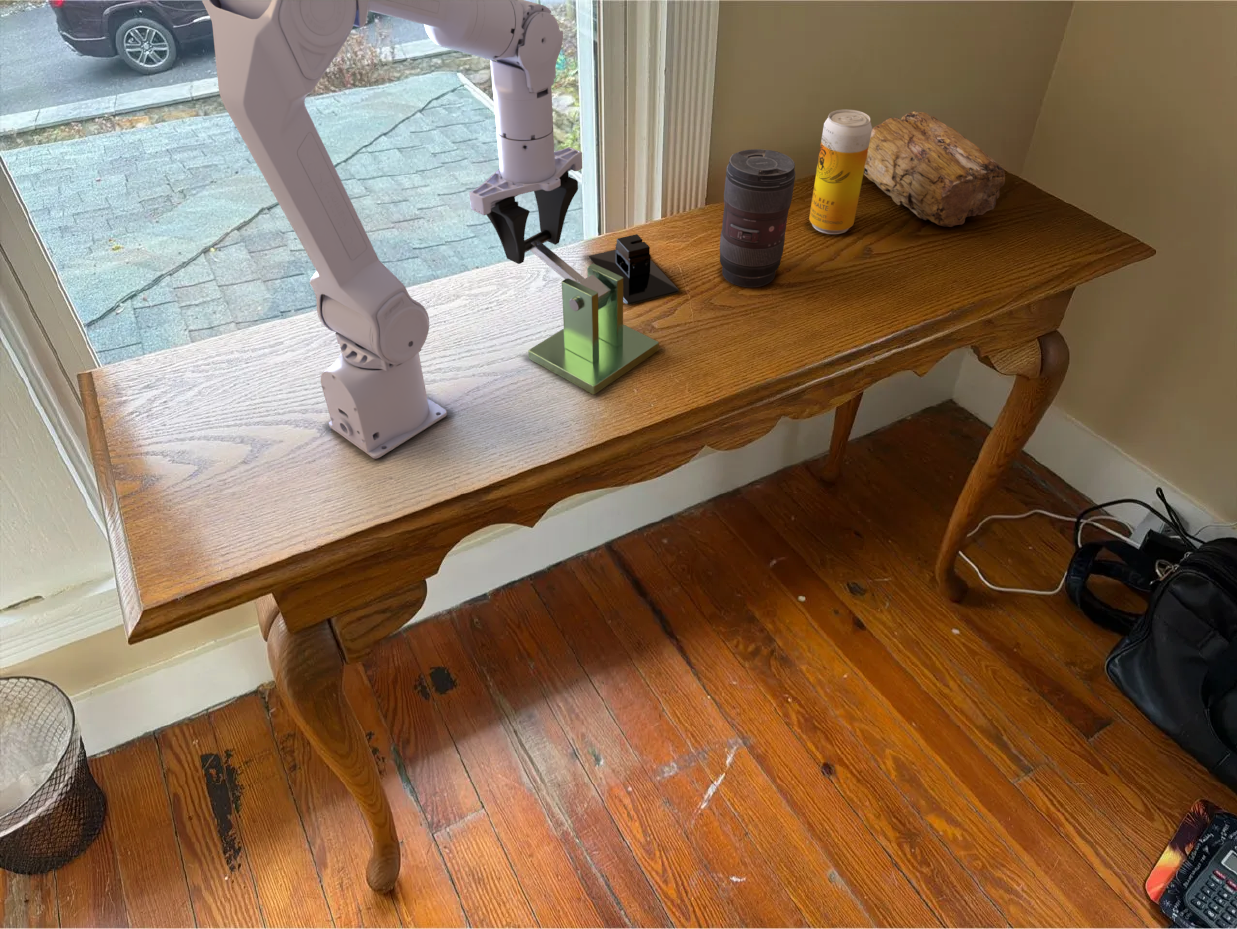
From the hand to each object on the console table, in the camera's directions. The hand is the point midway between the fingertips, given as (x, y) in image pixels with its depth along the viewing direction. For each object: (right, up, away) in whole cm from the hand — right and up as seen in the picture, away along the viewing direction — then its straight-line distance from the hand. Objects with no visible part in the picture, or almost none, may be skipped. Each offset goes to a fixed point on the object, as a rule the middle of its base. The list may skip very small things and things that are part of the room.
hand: (533, 250), depth 100 cm
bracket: (+7, -11, +2) cm, 13 cm away
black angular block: (+11, 0, +15) cm, 19 cm away
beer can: (+39, +9, +25) cm, 47 cm away
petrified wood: (+53, +14, +30) cm, 63 cm away
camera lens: (+26, 0, +15) cm, 30 cm away
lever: (+3, -3, -1) cm, 5 cm away
